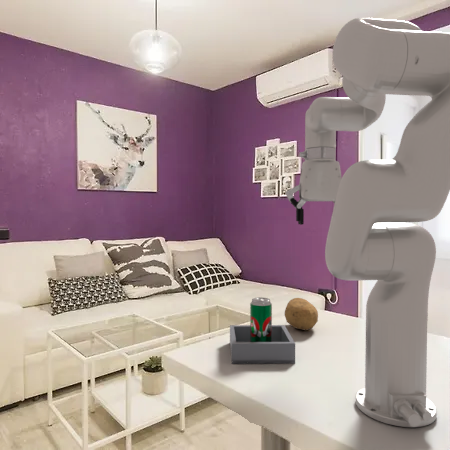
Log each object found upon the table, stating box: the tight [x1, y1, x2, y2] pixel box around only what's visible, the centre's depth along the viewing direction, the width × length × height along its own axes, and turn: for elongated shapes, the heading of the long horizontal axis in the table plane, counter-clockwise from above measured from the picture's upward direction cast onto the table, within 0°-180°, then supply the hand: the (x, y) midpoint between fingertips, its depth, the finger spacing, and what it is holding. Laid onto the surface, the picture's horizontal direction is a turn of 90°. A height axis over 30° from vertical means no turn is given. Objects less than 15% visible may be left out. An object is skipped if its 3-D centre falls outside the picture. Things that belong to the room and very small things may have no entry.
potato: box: [284, 297, 319, 331], centre depth 112 cm, size 10×14×8 cm
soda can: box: [249, 296, 273, 342], centre depth 93 cm, size 5×5×12 cm
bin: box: [229, 324, 296, 365], centre depth 93 cm, size 14×14×4 cm
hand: (319, 224), depth 99 cm, fingers open, 9 cm apart
